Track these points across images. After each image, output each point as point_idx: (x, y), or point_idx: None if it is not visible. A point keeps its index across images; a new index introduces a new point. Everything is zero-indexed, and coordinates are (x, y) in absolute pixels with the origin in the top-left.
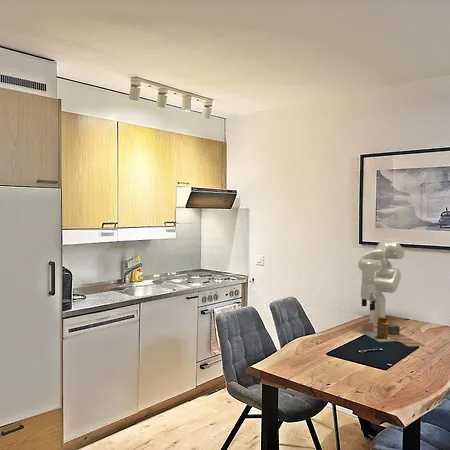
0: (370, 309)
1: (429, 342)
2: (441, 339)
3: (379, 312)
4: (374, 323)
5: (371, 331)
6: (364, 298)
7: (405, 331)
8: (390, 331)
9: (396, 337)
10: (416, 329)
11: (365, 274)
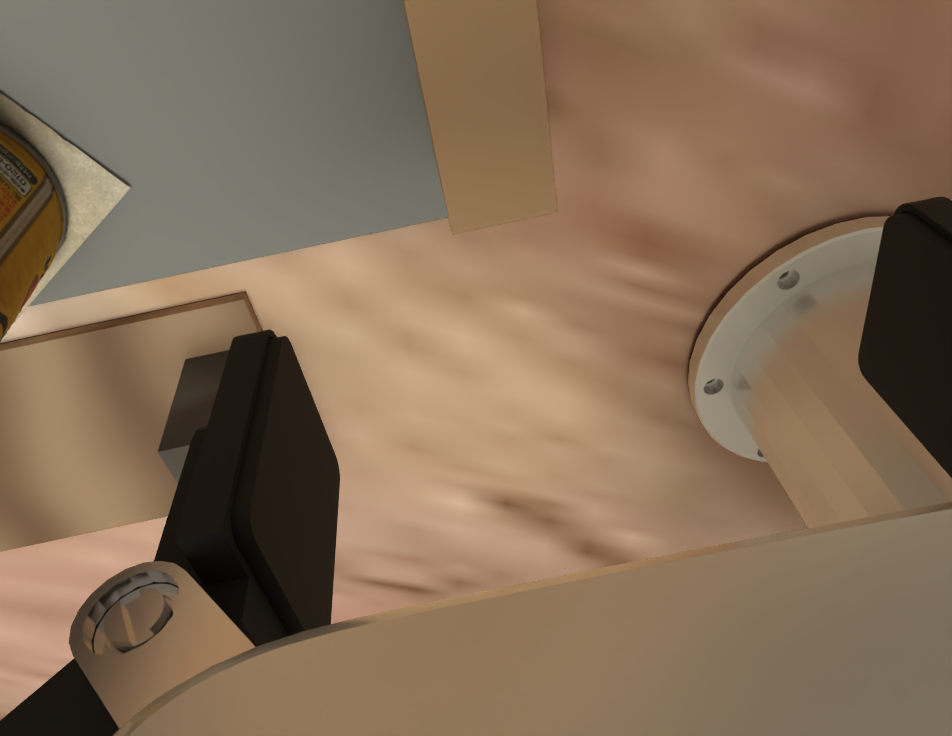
0: (236, 359)
1: (8, 640)
2: None
3: (837, 502)
4: (789, 305)
5: (395, 124)
6: (711, 577)
7: (449, 546)
8: (180, 396)
9: (72, 402)
10: None
11: None
